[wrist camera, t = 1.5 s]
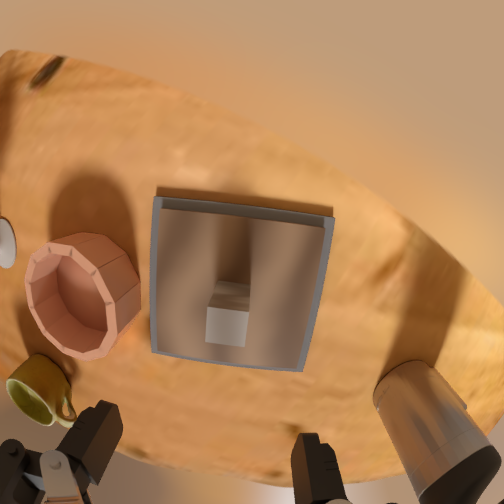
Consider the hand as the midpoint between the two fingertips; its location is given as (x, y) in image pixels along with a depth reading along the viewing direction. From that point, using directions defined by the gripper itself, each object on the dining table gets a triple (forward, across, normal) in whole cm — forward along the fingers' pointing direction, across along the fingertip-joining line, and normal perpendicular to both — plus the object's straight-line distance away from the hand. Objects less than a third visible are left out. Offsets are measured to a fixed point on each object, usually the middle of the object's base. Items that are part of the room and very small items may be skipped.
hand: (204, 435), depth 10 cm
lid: (+17, 0, 0) cm, 17 cm away
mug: (+18, +26, +20) cm, 37 cm away
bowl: (+18, +16, +2) cm, 24 cm away
